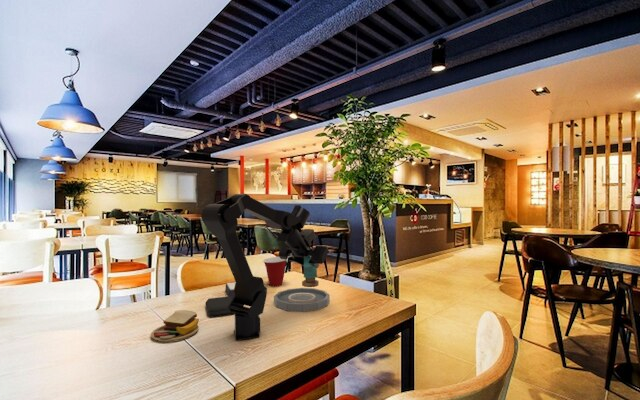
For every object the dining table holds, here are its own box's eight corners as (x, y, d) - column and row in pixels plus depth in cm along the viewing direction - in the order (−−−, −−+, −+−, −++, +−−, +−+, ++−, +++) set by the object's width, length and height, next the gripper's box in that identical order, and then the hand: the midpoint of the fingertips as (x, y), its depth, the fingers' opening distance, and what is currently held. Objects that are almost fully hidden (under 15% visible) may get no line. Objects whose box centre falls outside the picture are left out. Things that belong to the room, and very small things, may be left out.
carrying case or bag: (241, 314, 108) (234, 302, 122) (241, 305, 108) (234, 294, 122) (208, 319, 104) (204, 306, 117) (208, 310, 104) (204, 297, 117)
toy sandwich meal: (140, 340, 89) (140, 323, 89) (177, 322, 101) (177, 307, 101) (175, 347, 84) (175, 329, 84) (210, 328, 97) (209, 312, 97)
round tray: (281, 314, 107) (280, 306, 107) (270, 297, 126) (270, 290, 126) (336, 307, 114) (336, 300, 114) (318, 292, 132) (318, 286, 132)
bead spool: (309, 288, 114) (309, 251, 114) (298, 284, 118) (298, 249, 118) (321, 284, 118) (321, 249, 118) (311, 281, 122) (311, 247, 122)
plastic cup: (261, 283, 148) (261, 256, 148) (284, 281, 151) (284, 255, 151) (264, 289, 137) (264, 261, 137) (289, 287, 141) (289, 259, 141)
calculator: (267, 286, 130) (229, 288, 124) (266, 296, 130) (228, 299, 124) (261, 279, 140) (225, 281, 134) (260, 289, 140) (225, 292, 134)
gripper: (325, 222, 110) (341, 250, 119) (283, 221, 120) (300, 247, 129) (313, 248, 103) (330, 276, 112) (269, 244, 113) (288, 270, 122)
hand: (312, 266), depth 119 cm, fingers closed on bead spool, 5 cm apart
